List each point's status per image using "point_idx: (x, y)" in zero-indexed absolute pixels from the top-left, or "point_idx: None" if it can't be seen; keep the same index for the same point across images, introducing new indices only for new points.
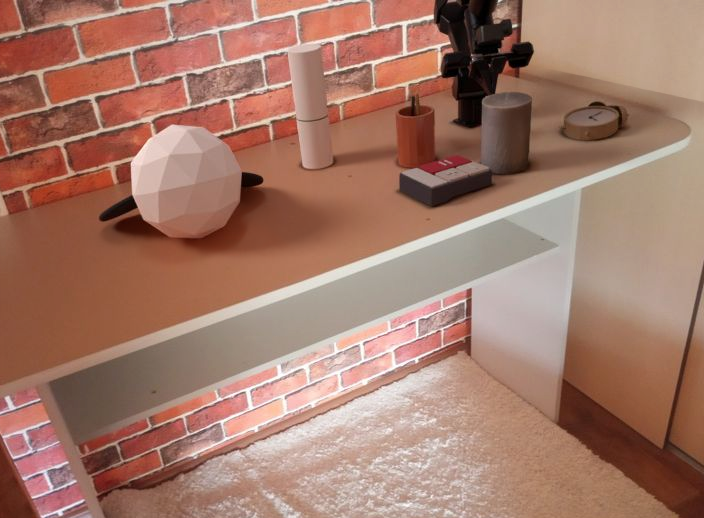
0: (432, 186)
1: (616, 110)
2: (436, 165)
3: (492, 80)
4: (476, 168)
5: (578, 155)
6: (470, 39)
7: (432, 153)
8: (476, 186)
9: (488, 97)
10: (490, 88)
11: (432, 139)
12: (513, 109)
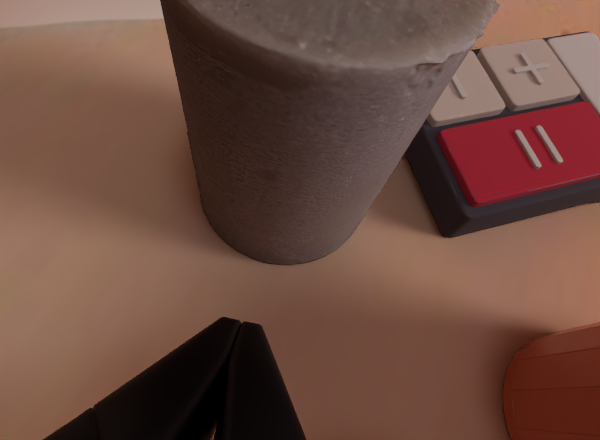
0: (592, 33)
1: None
2: (571, 141)
3: (187, 417)
4: None
5: (21, 128)
6: None
7: (547, 344)
8: None
9: (432, 32)
10: (253, 358)
11: (597, 338)
12: None
